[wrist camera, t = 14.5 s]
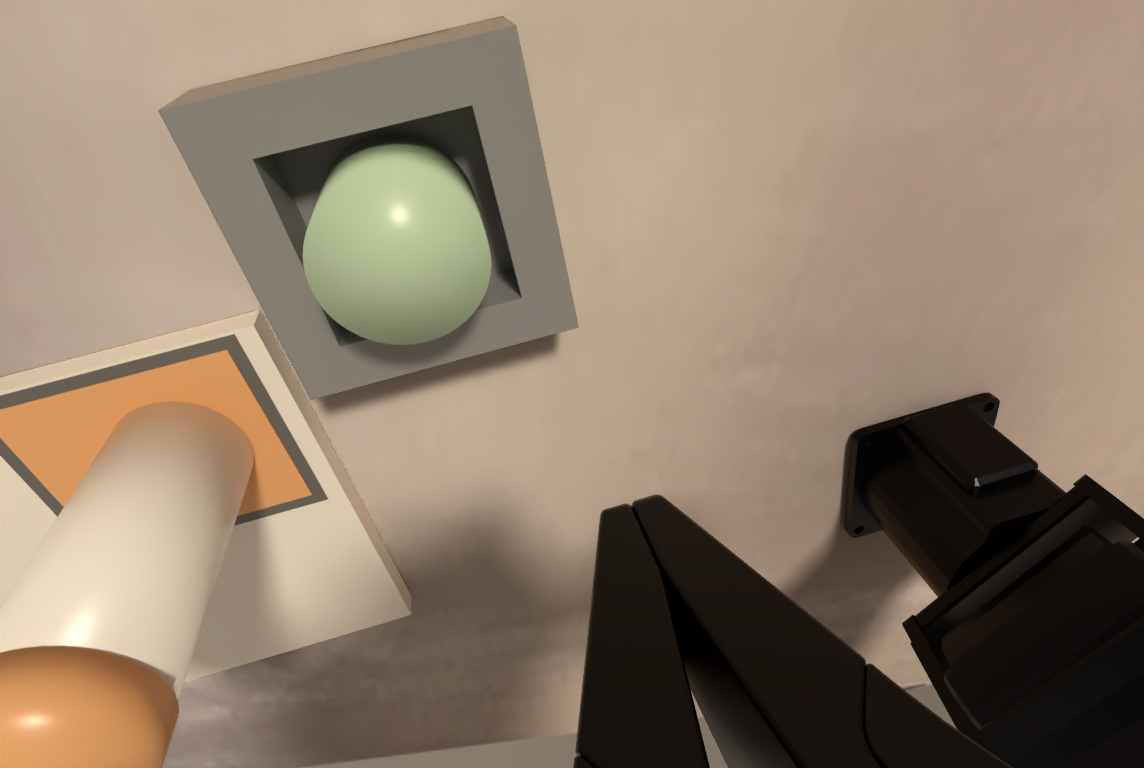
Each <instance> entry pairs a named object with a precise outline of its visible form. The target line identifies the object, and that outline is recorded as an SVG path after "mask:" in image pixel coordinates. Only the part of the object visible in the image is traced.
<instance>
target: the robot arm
mask: <svg viewBox="0 0 1144 768" xmlns="http://www.w3.org/2000/svg"><path fill="white" fill-rule="evenodd" d="M999 403H1000V401H999V400H998V398H996V397H995V396H994V395H992V394H991V393H982V394H979V395H976V396H972V397H969V398H965V399H962V400H958V401H955V402H951V403H948V404H945V405H941V406H938V407H934V408H931V409H927V410H924V411H921V412H917V413H914V414H910V415H907V416H903V417H900V418H896V419H893V420H890V421H886V422H883V423H879V424H876V425H872V426H869V427H866V428H863V429H861V430H859V431H858V432H856V433H855V435H854V436H853V439H852V448H851V459H850V470H849V481H848V493H847V504H846V515H845V526H844V527H845V530H846V531H847V533H848V534H849V535H850V536H851V537H854V538H855V537H860V536H863V535H867V534H870V533H873V532H877V531H880V530H883V531H884V532H885V533H886V534H887V535H888V537H889V538H890V539H891V540H892V542H893V543H894V544H895V545H896V546H897V548H898V549H899V550H900V551H901V552H902V554H903V555H904V556H905V557H906V559H907V560H908V561H909V562H910V563H911V565H912V566H913V567H914V568H915V570H916V571H917V572H918V573H919V574H920V576H921V577H922V578H923V579H924V580H925V582H926V583H927V584H928V585H929V587H930V588H931V589H932V590H933V591H934V593H935V594H936V595H937V596H938V598H937V599H936V600H934V601H933V602H932V603H931V604H929V605H928V606H927V607H926V608H925V609H923V610H922V611H921V612H920V613H918V614H917V615H916V616H914V615H912V616H911V617H909V618H908V619H907V620H906V621H904V622H903V623H902V625H903V627H904V629H905V631H906V632H907V634H908V636H909V638H910V640H911V646H912V647H913V649H914V651H915V653H916V655H917V657H918V658H919V660H920V662H921V664H922V666H923V668H924V669H925V671H926V673H927V675H928V677H929V679H930V680H931V682H932V684H933V686H934V688H935V690H936V691H937V693H938V695H939V697H940V699H941V700H942V702H943V704H944V706H945V708H946V710H947V711H948V713H949V715H950V717H951V719H952V721H953V722H954V724H955V726H956V728H957V729H958V730H957V729H955V728H954V727H953V726H951V725H950V724H948V723H947V722H945V721H944V720H942V719H941V718H940V717H939V716H937V715H936V714H935V713H933V712H932V711H931V710H930V709H928V708H927V707H926V706H924V705H923V704H922V703H920V702H919V701H918V700H917V699H915V698H914V697H912V696H911V695H910V694H909V693H907V692H906V691H905V690H903V689H902V688H901V687H900V686H898V685H897V684H896V683H895V682H893V681H892V680H891V679H890V678H888V677H887V676H886V675H885V674H883V673H882V672H881V671H880V670H879V669H877V668H876V667H875V666H874V665H872V664H867V665H866V662H865V659H864V658H863V657H862V656H861V655H859V654H858V653H857V652H856V651H854V650H853V649H852V648H851V647H850V646H848V645H847V644H846V643H845V642H843V641H842V640H841V639H840V638H838V637H837V636H836V635H835V634H833V633H832V632H831V631H830V630H828V629H827V628H826V627H825V626H823V625H822V624H821V623H820V622H818V621H817V620H816V619H815V618H813V617H812V616H811V615H810V614H808V613H807V612H806V611H805V610H803V609H802V608H801V607H800V606H799V605H797V604H796V603H795V602H794V601H792V600H791V599H790V598H789V597H787V596H786V595H785V594H784V593H782V592H781V591H780V590H779V589H777V588H776V587H775V586H774V585H772V584H771V583H770V582H769V581H767V580H766V579H765V578H764V577H762V576H761V575H760V574H759V573H757V572H756V571H755V570H754V569H752V568H751V567H750V566H749V565H748V564H746V563H745V562H744V561H743V560H741V559H740V558H739V557H738V556H736V555H735V554H734V553H733V552H731V551H730V550H729V549H728V548H726V547H725V546H724V545H723V544H721V543H720V542H719V541H718V540H716V539H715V538H714V537H713V536H711V535H710V534H709V533H708V532H706V531H705V530H704V529H703V528H702V527H700V526H699V525H698V524H697V523H695V522H694V521H693V520H692V519H690V518H689V517H688V516H687V515H685V514H684V513H683V512H682V511H680V510H679V509H678V508H677V507H675V506H674V505H673V504H672V503H670V502H669V501H668V500H667V499H665V498H664V497H663V496H661V495H653V496H649V497H646V498H643V499H639V500H636V501H634V502H633V503H632V505H631V506H630V505H629V504H622V505H619V506H615V507H612V508H608V509H605V510H603V511H602V513H601V515H600V523H599V532H598V542H597V551H596V561H595V571H594V580H593V590H592V599H591V609H590V618H589V628H588V637H587V647H586V656H585V666H584V675H583V685H582V694H581V704H580V714H579V723H578V733H577V742H576V754H577V757H575V759H574V767H573V768H710V767H709V763H708V759H707V755H706V751H705V746H704V742H703V738H702V734H701V730H700V726H699V722H698V718H697V714H696V710H695V705H694V701H693V697H692V693H693V695H694V697H695V699H696V701H697V703H698V706H699V708H700V710H701V712H702V714H703V716H704V718H705V720H706V722H707V724H708V726H709V729H710V731H711V733H712V735H713V737H714V739H715V741H716V743H717V745H718V747H719V749H720V751H721V754H722V756H723V758H724V760H725V762H726V764H727V766H728V768H1144V519H1143V518H1142V517H1141V516H1139V515H1138V514H1137V513H1136V512H1134V511H1133V510H1132V509H1130V508H1129V507H1128V506H1126V505H1125V504H1124V503H1123V502H1121V501H1120V500H1119V499H1117V498H1116V497H1115V496H1113V495H1112V494H1111V493H1110V492H1108V491H1107V490H1106V489H1104V488H1103V487H1102V486H1100V485H1099V484H1098V483H1096V482H1095V481H1094V480H1093V479H1091V478H1090V477H1089V476H1087V475H1086V474H1085V475H1084V476H1082V477H1081V478H1080V479H1079V480H1077V481H1076V482H1075V483H1074V484H1073V485H1075V487H1073V488H1072V489H1071V490H1070V491H1069V492H1067V493H1066V492H1065V491H1063V490H1062V489H1061V488H1060V487H1059V486H1057V485H1056V484H1055V483H1054V482H1052V481H1051V480H1050V479H1049V478H1048V477H1046V476H1045V475H1044V474H1043V473H1042V472H1040V471H1039V470H1038V469H1037V468H1038V464H1037V462H1036V461H1035V460H1033V459H1032V458H1031V457H1030V456H1029V455H1027V454H1026V453H1025V452H1024V451H1022V450H1021V449H1020V448H1019V447H1017V446H1016V445H1015V444H1014V443H1013V442H1011V441H1010V440H1009V439H1008V438H1006V437H1005V436H1004V435H1003V434H1001V433H1000V432H999V431H998V430H997V429H995V428H994V424H995V420H996V416H997V412H998V408H999ZM1137 537H1139V538H1140V539H1139V540H1137V541H1136V542H1135V543H1132V541H1133V540H1134V539H1136V538H1137ZM865 665H866V667H865ZM691 691H692V693H691Z"/></svg>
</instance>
